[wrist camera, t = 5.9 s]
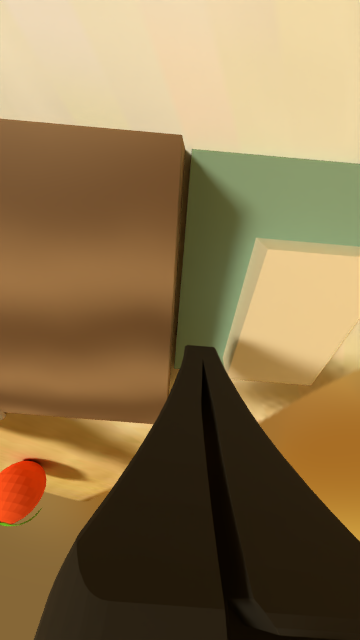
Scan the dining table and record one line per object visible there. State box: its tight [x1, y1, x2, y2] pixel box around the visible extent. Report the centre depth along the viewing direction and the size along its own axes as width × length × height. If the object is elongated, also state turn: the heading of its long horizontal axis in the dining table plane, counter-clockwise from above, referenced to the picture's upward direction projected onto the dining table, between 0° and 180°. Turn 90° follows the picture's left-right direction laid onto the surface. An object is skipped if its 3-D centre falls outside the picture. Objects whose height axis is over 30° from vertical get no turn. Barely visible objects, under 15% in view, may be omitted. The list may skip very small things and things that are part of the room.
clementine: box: [0, 461, 46, 526], centre depth 29 cm, size 8×7×7 cm
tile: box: [223, 238, 360, 386], centre depth 12 cm, size 9×6×2 cm, turn 176°
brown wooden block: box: [0, 119, 185, 424], centre depth 12 cm, size 16×12×4 cm
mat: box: [174, 149, 360, 369], centre depth 13 cm, size 14×11×1 cm
